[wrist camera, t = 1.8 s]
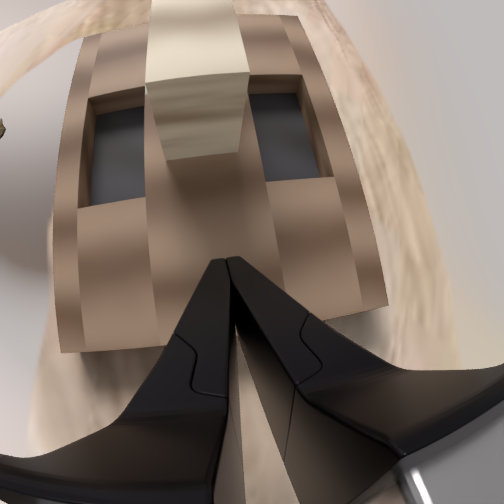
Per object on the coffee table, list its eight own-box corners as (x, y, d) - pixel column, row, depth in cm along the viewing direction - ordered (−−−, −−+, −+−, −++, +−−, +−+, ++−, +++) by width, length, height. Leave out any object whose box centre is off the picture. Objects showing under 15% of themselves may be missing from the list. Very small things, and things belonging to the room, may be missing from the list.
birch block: (238, 152, 21) (249, 71, 13) (165, 160, 20) (145, 82, 13) (222, 57, 23) (227, -18, 15) (163, 63, 22) (153, -11, 15)
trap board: (369, 307, 23) (388, 305, 20) (79, 350, 20) (60, 353, 17) (291, 35, 29) (297, 16, 26) (91, 56, 26) (83, 37, 23)
